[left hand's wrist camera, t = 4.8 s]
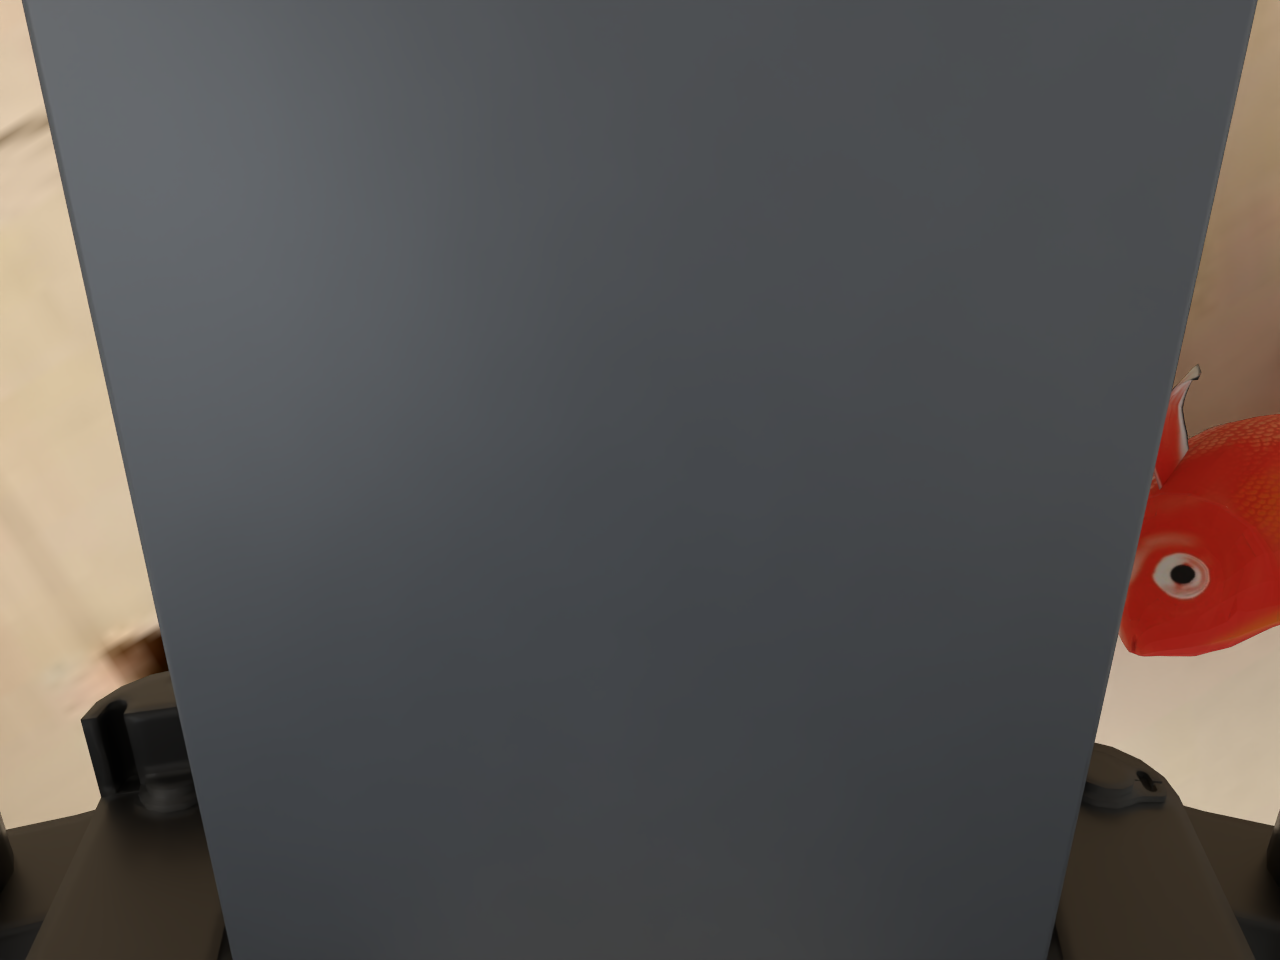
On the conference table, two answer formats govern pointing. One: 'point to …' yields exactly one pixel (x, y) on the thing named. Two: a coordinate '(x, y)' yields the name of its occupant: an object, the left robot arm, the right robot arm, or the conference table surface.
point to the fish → (1207, 538)
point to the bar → (639, 447)
